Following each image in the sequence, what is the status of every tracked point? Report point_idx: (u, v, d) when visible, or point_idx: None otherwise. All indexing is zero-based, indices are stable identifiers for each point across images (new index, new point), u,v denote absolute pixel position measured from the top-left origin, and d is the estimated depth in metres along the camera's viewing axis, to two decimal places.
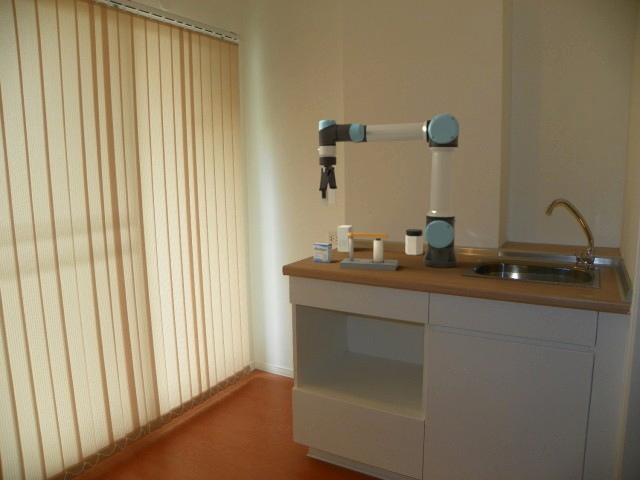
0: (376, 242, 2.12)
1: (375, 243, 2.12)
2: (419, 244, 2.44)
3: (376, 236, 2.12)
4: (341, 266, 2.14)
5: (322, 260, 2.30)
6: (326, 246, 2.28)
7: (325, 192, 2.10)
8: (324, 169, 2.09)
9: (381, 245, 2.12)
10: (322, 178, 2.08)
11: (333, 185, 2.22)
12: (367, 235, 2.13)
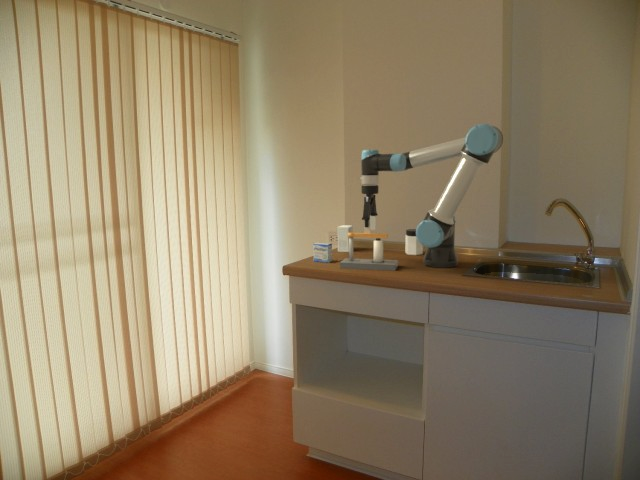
0: (376, 242, 2.12)
1: (375, 243, 2.12)
2: (419, 244, 2.44)
3: (376, 236, 2.12)
4: (341, 266, 2.14)
5: (322, 260, 2.30)
6: (326, 246, 2.28)
7: (368, 221, 2.13)
8: (367, 198, 2.12)
9: (381, 245, 2.12)
10: (365, 207, 2.12)
11: (374, 212, 2.26)
12: (367, 235, 2.13)
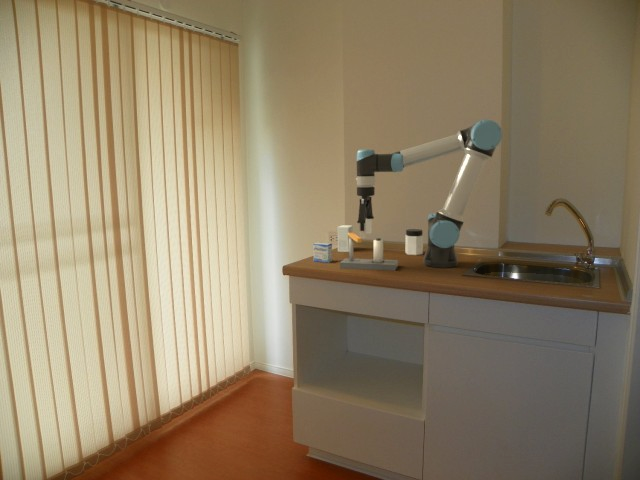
0: (376, 242, 2.12)
1: (375, 243, 2.12)
2: (419, 244, 2.44)
3: (355, 239, 2.05)
4: (341, 266, 2.14)
5: (322, 260, 2.30)
6: (326, 246, 2.28)
7: (363, 224, 2.04)
8: (363, 201, 2.03)
9: (381, 245, 2.12)
10: (361, 210, 2.02)
11: (370, 215, 2.16)
12: (352, 237, 2.09)
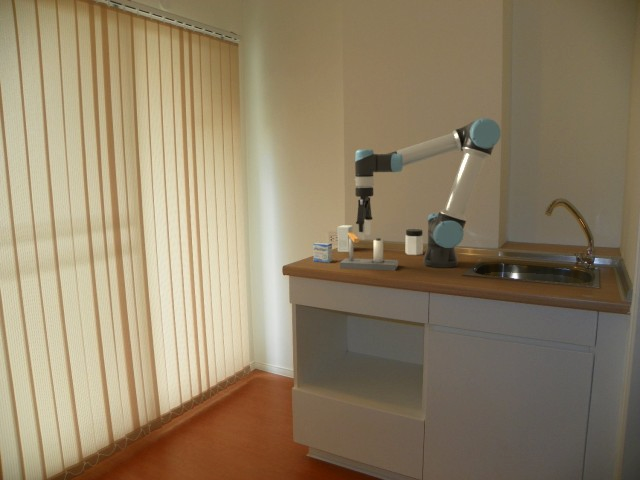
0: (376, 242, 2.12)
1: (375, 243, 2.12)
2: (419, 244, 2.44)
3: (352, 239, 2.05)
4: (341, 266, 2.14)
5: (322, 260, 2.30)
6: (326, 246, 2.28)
7: (362, 225, 2.00)
8: (361, 201, 2.00)
9: (381, 245, 2.12)
10: (359, 211, 1.99)
11: (369, 216, 2.13)
12: (351, 237, 2.09)
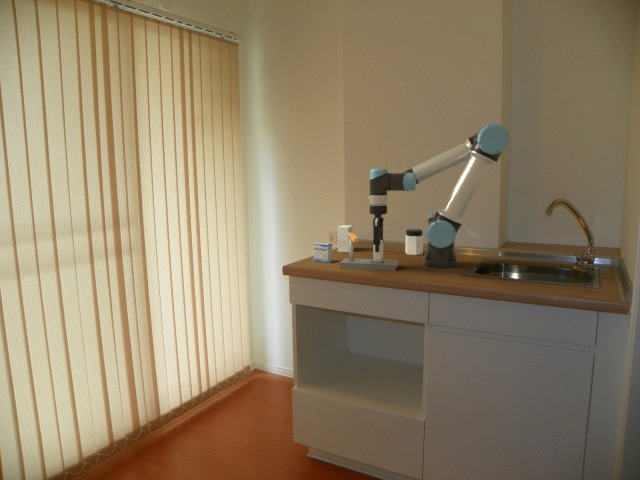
0: None
1: None
2: (419, 244, 2.44)
3: (352, 239, 2.05)
4: (341, 266, 2.14)
5: (322, 260, 2.30)
6: (326, 246, 2.28)
7: (378, 246, 2.10)
8: (376, 223, 2.06)
9: (381, 245, 2.12)
10: (375, 232, 2.07)
11: (381, 237, 2.15)
12: (351, 237, 2.09)
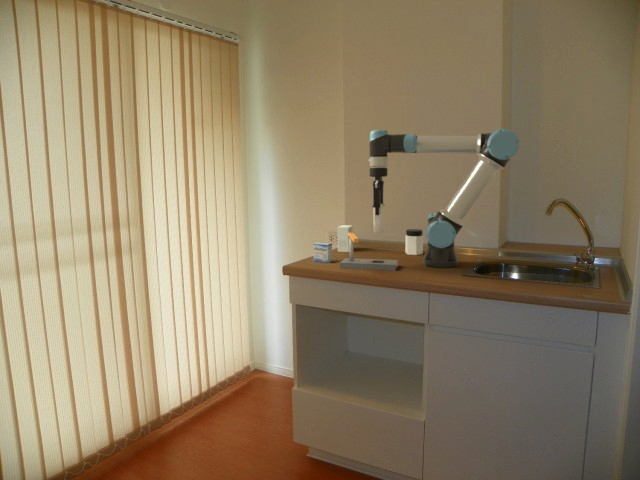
0: None
1: None
2: (419, 244, 2.44)
3: (352, 239, 2.05)
4: (341, 266, 2.14)
5: (322, 260, 2.30)
6: (326, 246, 2.28)
7: (378, 209, 2.08)
8: (376, 185, 2.03)
9: (381, 209, 2.09)
10: (375, 195, 2.05)
11: (381, 201, 2.13)
12: (351, 237, 2.09)
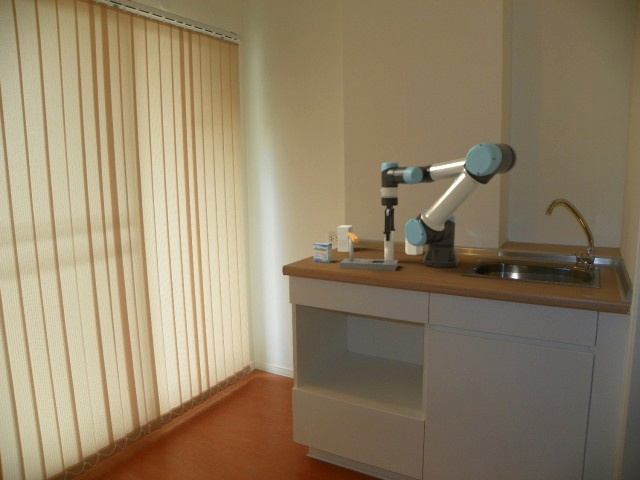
0: None
1: None
2: None
3: (352, 239, 2.05)
4: (341, 266, 2.14)
5: (322, 260, 2.30)
6: (326, 246, 2.28)
7: (389, 235, 2.20)
8: (387, 213, 2.17)
9: (392, 241, 2.24)
10: (386, 222, 2.17)
11: (392, 226, 2.28)
12: (351, 237, 2.09)
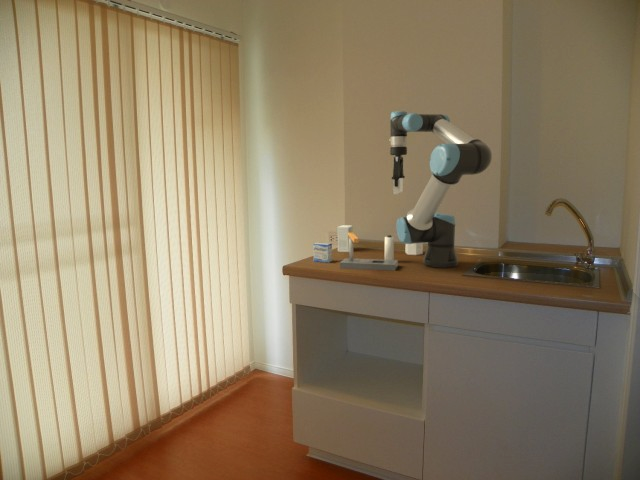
0: (387, 239, 2.23)
1: (386, 240, 2.24)
2: (419, 244, 2.44)
3: (352, 239, 2.05)
4: (341, 266, 2.14)
5: (322, 260, 2.30)
6: (326, 246, 2.28)
7: (397, 180, 2.19)
8: (397, 158, 2.18)
9: (392, 241, 2.24)
10: (395, 167, 2.18)
11: (401, 174, 2.32)
12: (351, 237, 2.09)
